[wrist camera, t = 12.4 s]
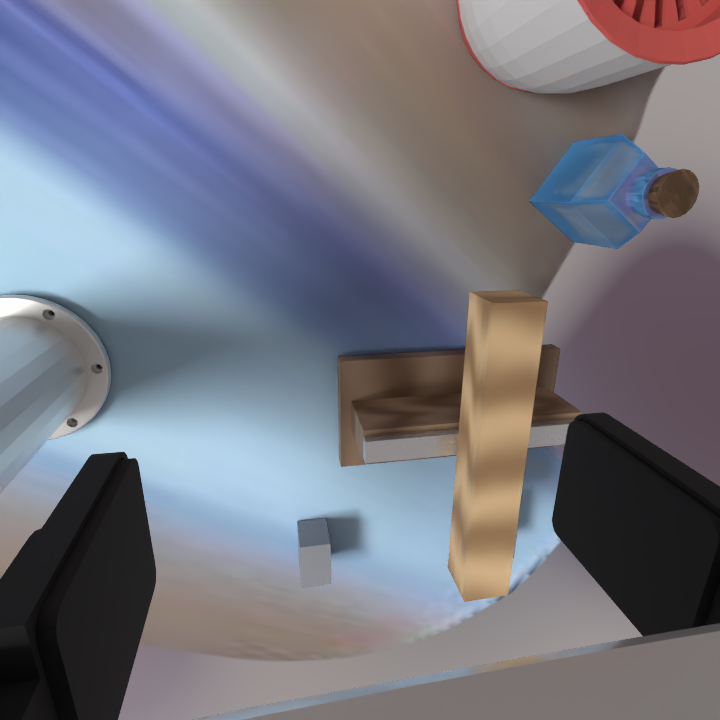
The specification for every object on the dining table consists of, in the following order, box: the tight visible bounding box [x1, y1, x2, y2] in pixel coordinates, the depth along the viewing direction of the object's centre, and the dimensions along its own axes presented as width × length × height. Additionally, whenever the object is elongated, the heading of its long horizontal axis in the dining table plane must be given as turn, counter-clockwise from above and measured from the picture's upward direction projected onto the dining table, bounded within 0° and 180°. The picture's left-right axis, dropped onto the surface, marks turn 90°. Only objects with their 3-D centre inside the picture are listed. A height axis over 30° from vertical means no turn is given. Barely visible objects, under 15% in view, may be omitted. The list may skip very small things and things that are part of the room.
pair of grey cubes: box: [297, 518, 519, 588], centre depth 51 cm, size 23×5×4 cm, turn 90°
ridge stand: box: [338, 344, 582, 467], centre depth 44 cm, size 22×11×8 cm, turn 90°
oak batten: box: [448, 290, 548, 602], centre depth 38 cm, size 26×4×4 cm, turn 0°
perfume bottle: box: [529, 134, 699, 249], centre depth 38 cm, size 6×6×12 cm
